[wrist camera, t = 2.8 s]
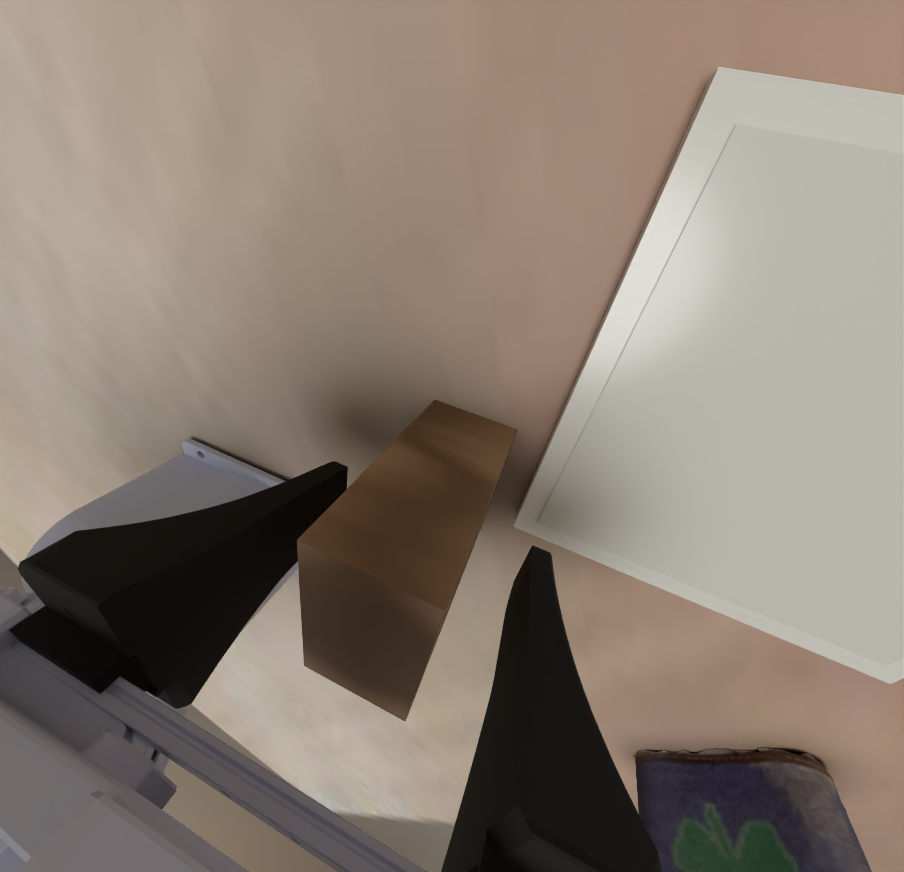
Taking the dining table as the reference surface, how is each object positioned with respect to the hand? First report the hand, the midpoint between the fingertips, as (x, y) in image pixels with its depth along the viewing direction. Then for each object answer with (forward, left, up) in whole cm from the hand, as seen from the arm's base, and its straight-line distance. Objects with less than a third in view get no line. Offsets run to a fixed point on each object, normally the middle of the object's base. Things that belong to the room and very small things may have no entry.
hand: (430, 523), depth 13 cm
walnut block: (0, 0, -3) cm, 3 cm away
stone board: (+10, +6, -3) cm, 12 cm away
